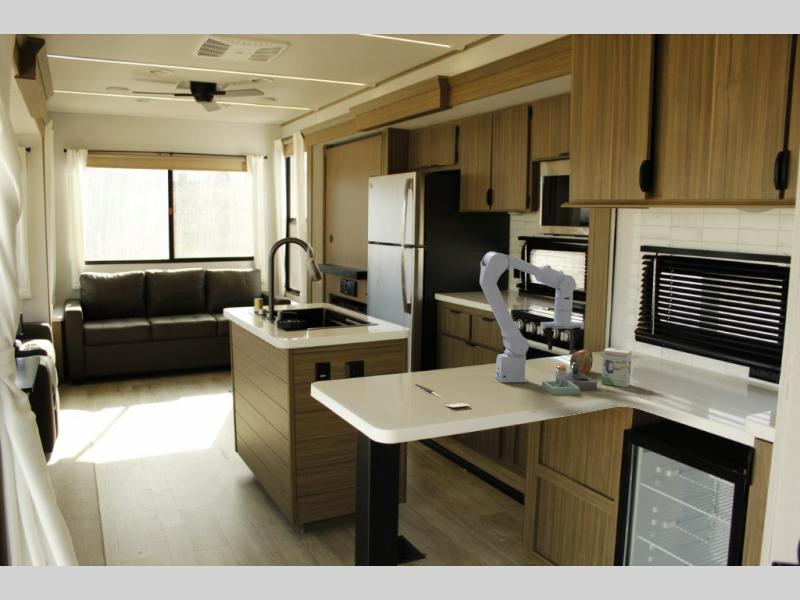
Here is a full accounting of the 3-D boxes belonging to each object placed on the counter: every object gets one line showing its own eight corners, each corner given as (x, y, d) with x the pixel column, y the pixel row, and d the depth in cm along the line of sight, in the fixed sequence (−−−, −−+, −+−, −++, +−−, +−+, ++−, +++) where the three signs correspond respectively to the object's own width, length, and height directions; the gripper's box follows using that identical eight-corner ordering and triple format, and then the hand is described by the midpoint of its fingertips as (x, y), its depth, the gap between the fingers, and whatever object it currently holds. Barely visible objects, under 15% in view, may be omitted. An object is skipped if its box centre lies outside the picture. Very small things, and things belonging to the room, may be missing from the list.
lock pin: (556, 389, 217) (558, 366, 216) (554, 387, 220) (555, 364, 219) (566, 390, 217) (567, 367, 216) (563, 387, 220) (564, 364, 219)
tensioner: (576, 389, 220) (577, 369, 219) (561, 379, 232) (562, 360, 232) (596, 389, 221) (598, 369, 220) (580, 379, 233) (581, 360, 233)
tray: (551, 394, 213) (552, 388, 213) (541, 386, 222) (542, 380, 222) (579, 394, 215) (579, 387, 214) (568, 386, 223) (568, 380, 223)
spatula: (452, 412, 193) (453, 407, 193) (407, 386, 220) (407, 382, 219) (471, 410, 196) (471, 405, 196) (424, 385, 222) (424, 380, 222)
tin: (576, 378, 235) (577, 354, 234) (567, 377, 237) (568, 353, 236) (592, 371, 247) (594, 348, 246) (584, 369, 249) (585, 347, 248)
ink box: (630, 384, 229) (632, 350, 227) (627, 388, 224) (629, 352, 223) (603, 381, 233) (606, 347, 231) (600, 384, 228) (603, 349, 227)
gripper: (546, 311, 225) (544, 352, 227) (588, 311, 227) (586, 352, 229) (539, 308, 232) (537, 347, 233) (580, 308, 234) (577, 347, 235)
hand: (560, 349), depth 231 cm, fingers open, 7 cm apart
